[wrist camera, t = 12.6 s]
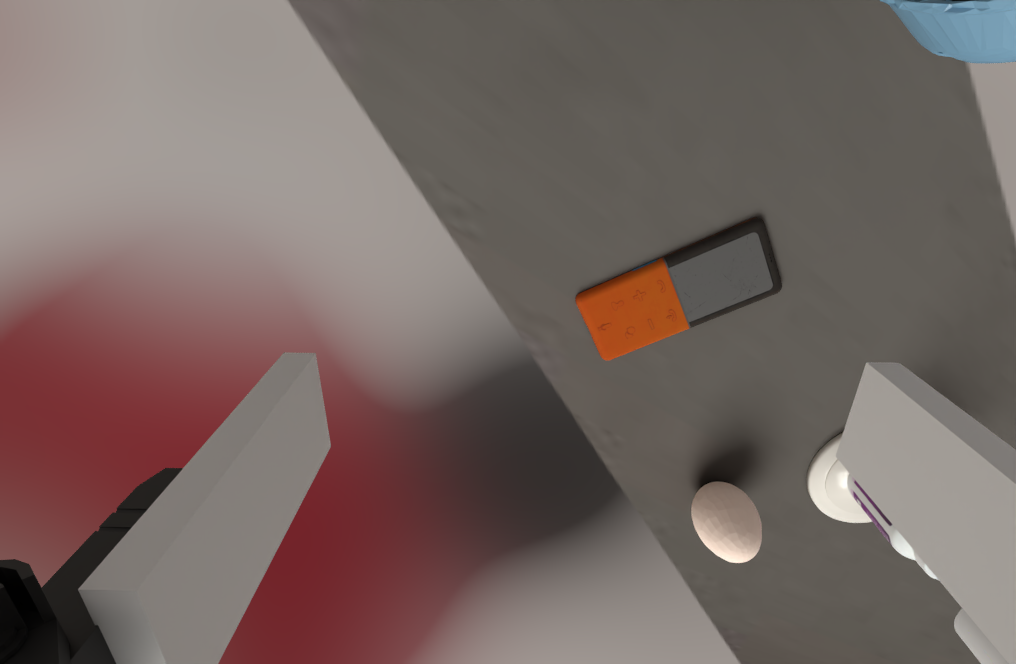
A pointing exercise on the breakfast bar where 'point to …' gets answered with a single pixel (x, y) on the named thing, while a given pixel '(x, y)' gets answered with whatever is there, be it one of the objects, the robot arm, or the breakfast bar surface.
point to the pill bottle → (884, 524)
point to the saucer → (833, 485)
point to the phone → (681, 290)
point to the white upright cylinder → (977, 640)
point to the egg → (727, 521)
